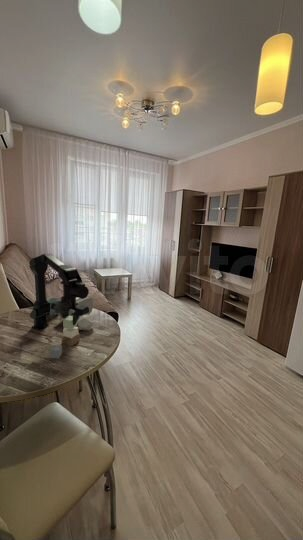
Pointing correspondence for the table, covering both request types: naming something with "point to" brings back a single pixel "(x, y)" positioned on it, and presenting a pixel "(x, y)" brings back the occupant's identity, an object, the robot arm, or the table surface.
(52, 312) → the cup
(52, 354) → the slate cube
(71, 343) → the tower base
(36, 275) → the robot arm
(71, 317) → the sage cube
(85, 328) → the die
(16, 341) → the table surface
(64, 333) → the tower top
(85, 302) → the alarm clock
